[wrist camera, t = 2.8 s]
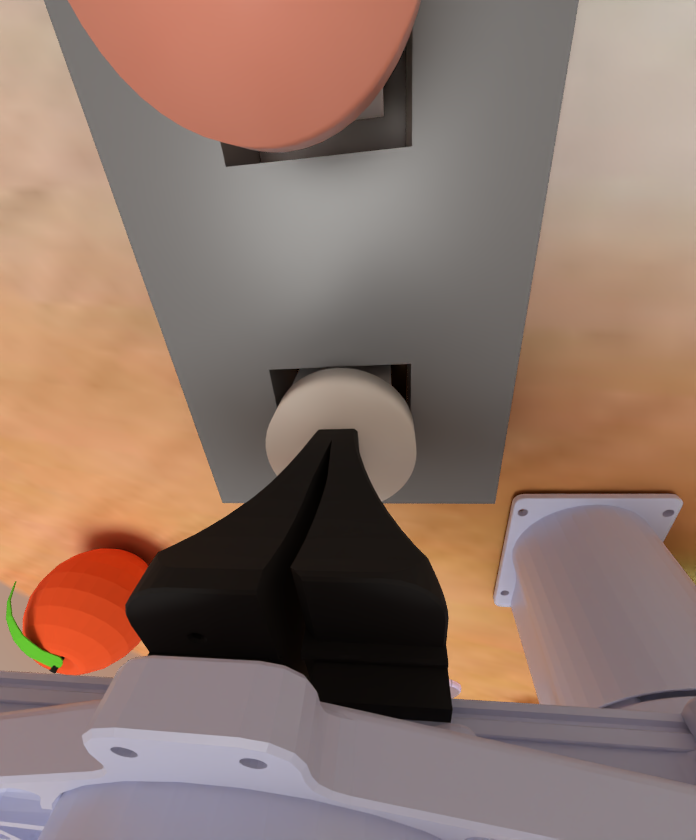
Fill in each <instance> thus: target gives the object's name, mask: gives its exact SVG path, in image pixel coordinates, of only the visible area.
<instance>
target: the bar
mask: <svg viewBox="0 0 696 840" xmlns="http://www.w3.org/2000/svg"><path fill="white" fill-rule="evenodd" d="M44 2H45V5H46V8H47V10H48V13H49V16H50V19H51V22H52V24H53V27H54V30H55V33H56V36H57V39H58V41H59V44H60V47H61V50H62V53H63V55H64V58H65V61H66V64H67V67H68V69H69V72H70V75H71V78H72V81H73V83H74V86H75V89H76V92H77V95H78V98H79V100H80V103H81V106H82V109H83V112H84V114H85V117H86V120H87V123H88V126H89V128H90V131H91V134H92V137H93V140H94V142H95V145H96V148H97V151H98V154H99V157H100V159H101V162H102V165H103V168H104V171H105V173H106V176H107V179H108V182H109V185H110V187H111V190H112V193H113V196H114V199H115V202H116V204H117V207H118V210H119V213H120V216H121V218H122V221H123V224H124V227H125V230H126V232H127V235H128V238H129V241H130V244H131V246H132V249H133V252H134V255H135V258H136V261H137V263H138V266H139V269H140V272H141V275H142V277H143V280H144V283H145V286H146V289H147V291H148V294H149V297H150V300H151V303H152V305H153V308H154V311H155V314H156V317H157V320H158V322H159V325H160V328H161V331H162V334H163V336H164V339H165V342H166V345H167V348H168V350H169V353H170V356H171V359H172V362H173V364H174V367H175V370H176V373H177V376H178V379H179V381H180V384H181V387H182V390H183V393H184V395H185V398H186V401H187V404H188V407H189V409H190V412H191V415H192V418H193V421H194V423H195V426H196V429H197V432H198V435H199V438H200V440H201V443H202V446H203V449H204V452H205V454H206V457H207V460H208V463H209V466H210V468H211V471H212V474H213V477H214V480H215V482H216V485H217V488H218V491H219V494H220V497H221V499H222V502H223V503H246V502H247V501H249V500H250V499H251V498H253V497H254V496H255V495H257V494H258V493H259V492H260V491H261V490H263V489H264V488H265V487H266V486H267V485H268V484H269V483H271V482H272V481H273V480H274V479H275V478H276V477H277V475H276V474H275V472H274V471H273V469H272V467H271V465H270V463H269V460H268V457H267V452H266V434H267V430H268V426H269V424H270V422H271V420H272V418H273V416H274V413H275V411H276V409H277V407H278V405H279V403H280V401H281V400H282V398H283V396H284V395H285V393H286V392H287V391H288V389H289V388H290V387H291V386H292V384H293V382H294V380H295V378H296V376H297V372H296V369H298V368H321V367H345V366H369V365H392V364H407V405H408V407H409V409H410V411H411V414H412V418H413V422H414V431H415V440H416V452H417V454H416V462H415V466H414V469H413V472H412V474H411V476H410V477H409V479H408V481H407V482H406V483H405V484H404V486H403V487H402V488H401V489H400V490H399V491H397V492H396V493H395V494H394V495H392V496H391V497H389V498H388V499H386V500H384V501H382V503H456V504H495V500H496V494H497V488H498V482H499V476H500V470H501V464H502V458H503V452H504V446H505V440H506V434H507V428H508V422H509V416H510V410H511V404H512V398H513V392H514V386H515V380H516V374H517V368H518V362H519V356H520V350H521V344H522V338H523V332H524V326H525V320H526V314H527V308H528V302H529V296H530V290H531V284H532V278H533V272H534V266H535V260H536V254H537V248H538V242H539V236H540V230H541V224H542V218H543V212H544V206H545V200H546V194H547V188H548V182H549V176H550V170H551V164H552V158H553V152H554V146H555V140H556V134H557V128H558V122H559V116H560V110H561V104H562V98H563V92H564V86H565V80H566V74H567V68H568V62H569V56H570V50H571V44H572V38H573V32H574V26H575V20H576V14H577V8H578V2H579V0H421V2H420V6H419V10H418V13H417V16H416V19H415V22H414V25H413V28H412V31H411V34H410V37H409V39H408V41H407V44H406V147H401V148H392V149H383V150H374V151H365V152H356V153H347V154H339V155H330V156H321V157H312V158H303V159H294V160H285V161H276V162H267V163H261V161H260V156H259V151H255V150H250V149H246V148H242V147H238V146H235V145H231V144H227V143H223V142H220V141H216V140H213V139H210V138H206V137H203V136H201V135H199V134H197V133H195V132H192V131H190V130H188V129H186V128H184V127H182V126H180V125H179V124H177V123H175V122H174V121H172V120H171V119H169V118H167V117H166V116H164V115H163V114H161V113H160V112H159V111H157V110H156V109H155V108H154V107H152V106H151V105H150V104H149V103H148V102H146V101H145V100H144V99H143V98H141V97H140V96H139V95H138V94H137V93H136V92H135V91H134V90H133V89H132V88H131V87H130V86H129V85H128V84H127V83H126V82H125V81H124V80H123V79H122V78H121V77H120V76H119V74H118V73H117V72H116V71H115V70H114V68H113V67H112V66H111V65H110V63H109V62H108V61H107V60H106V59H105V57H104V56H103V55H102V54H101V52H100V51H99V50H98V48H97V47H96V45H95V44H94V42H93V41H92V39H91V38H90V36H89V35H88V33H87V32H86V30H85V29H84V28H83V26H82V25H81V23H80V21H79V19H78V17H77V16H76V14H75V12H74V10H73V9H72V7H71V5H70V3H69V2H68V0H44Z"/></svg>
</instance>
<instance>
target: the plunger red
mask: <svg viewBox="0 0 696 840" xmlns="http://www.w3.org/2000/svg"><path fill="white" fill-rule="evenodd" d="M68 2H69V3H70V5H71V7H72V9H73V10H74V12H75V14H76V16H77V17H78V19H79V21H80V23H81V25H82V26H83V28H84V29H85V30H86V32H87V33H88V35H89V36H90V38H91V39H92V41H93V42H94V44H95V45H96V47H97V48H98V50H99V51H100V52H101V54H102V55H103V56H104V57H105V59H106V60H107V61H108V62H109V63H110V65H111V66H112V67H113V68H114V70H115V71H116V72H117V73H118V74H119V76H120V77H121V78H122V79H123V80H124V81H125V82H126V83H127V84H128V85H129V86H130V87H131V88H132V89H133V90H134V91H135V92H136V93H137V94H138V95H139V96H140V97H141V98H143V99H144V100H145V101H146V102H148V103H149V104H150V105H151V106H152V107H154V108H155V109H156V110H157V111H159V112H160V113H161V114H163V115H164V116H166V117H167V118H169V119H171V120H172V121H174V122H175V123H177V124H179V125H180V126H182V127H184V128H186V129H188V130H190V131H192V132H195V133H197V134H199V135H201V136H203V137H206V138H210V139H213V140H216V141H220V142H223V143H227V144H231V145H235V146H238V147H242V148H246V149H250V150H255V151H263V152H290V151H295V150H300V149H305V148H308V147H310V146H313V145H316V144H318V143H321V142H323V141H325V140H327V139H328V138H330V137H332V136H334V135H336V134H337V133H339V132H340V131H342V130H343V129H344V128H345V127H347V126H348V125H349V124H351V123H352V122H353V121H354V120H360V119H368V118H377V117H384V107H383V87H384V85H385V84H386V82H387V80H388V79H389V77H390V75H391V74H392V72H393V70H394V69H395V67H396V65H397V63H398V61H399V59H400V57H401V55H402V52H403V50H404V48H405V46H406V44H407V41H408V39H409V37H410V34H411V31H412V28H413V25H414V22H415V19H416V16H417V13H418V10H419V6H420V2H421V0H68Z"/></svg>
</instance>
